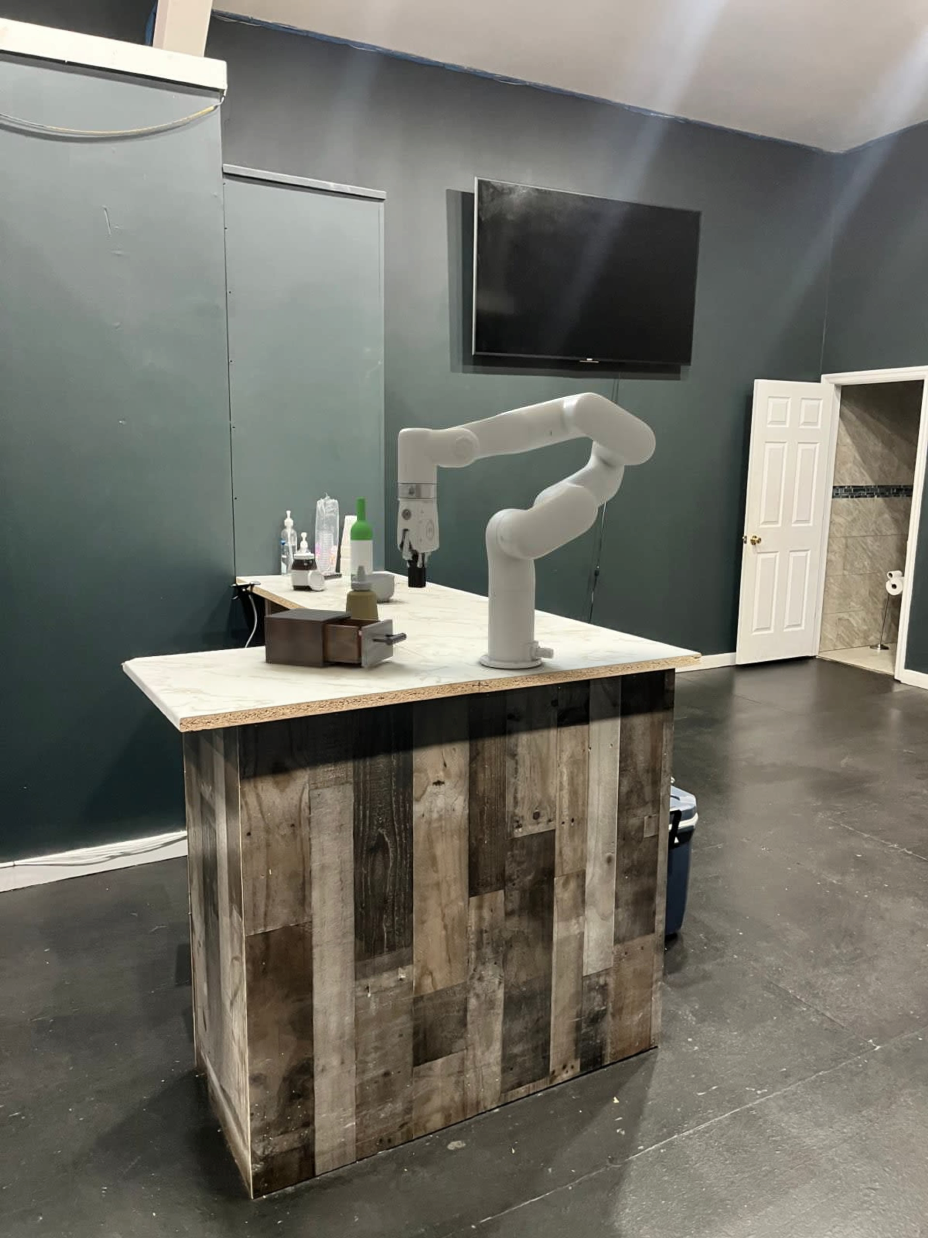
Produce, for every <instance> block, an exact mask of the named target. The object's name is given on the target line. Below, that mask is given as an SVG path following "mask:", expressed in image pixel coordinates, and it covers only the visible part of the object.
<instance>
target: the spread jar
mask: <svg viewBox="0 0 928 1238" xmlns="http://www.w3.org/2000/svg"><path fill="white" fill-rule="evenodd" d="M290 569H291V571H290V573H291V575H290V576H291V586H292V587H291V588H292V589H293V590H295V591H315V592H319V591H322V590H323V589H324V588H325V586H326V580H325V579H326V578H325V576H324V574H323V573H322V572H321V571H320V570H318V565H317V562H316V560H315V553H294V554H293V561H292V564H291V567H290Z"/></svg>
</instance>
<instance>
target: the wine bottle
mask: <svg viewBox="0 0 928 1238" xmlns="http://www.w3.org/2000/svg"><path fill="white" fill-rule="evenodd" d="M349 535H350V536H349V537H350V539H349V542H350V543H349V547H350V548H349V550H350V551H349V552H350V555H349V556H350V583H351V582H352V578H353V576H355V575H357V571H358V566H364V569H365V574H370V573H374V558H373V557H374V555H373V554H374V553H373V552H374V550H373V547H374V546H373V544H374V543H373V542H374V541H373V529H372V526H371V524H369V522H367V520H366V497H357V498H356V521H355V522H354V523H353V524H352V525H351V527H350V533H349ZM355 581H356V579H355Z"/></svg>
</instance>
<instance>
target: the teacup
mask: <svg viewBox="0 0 928 1238" xmlns="http://www.w3.org/2000/svg"><path fill="white" fill-rule="evenodd" d="M356 576H357V575H355V576H353V578H352V582H353V581H355V579H356ZM366 578H367V581H370V582H372V589H370V590H371V591H374V592H375V593H376V599H377V603H383V602H384V603H385V602H388V601H389V600H390V599H392V597H393V596H394V594H395V586H396V585H395V584H396V583H395V582H396V581H395V578H396V575H394V574H393V573H386V572H373V573H370V574H366Z"/></svg>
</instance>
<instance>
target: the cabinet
mask: <svg viewBox="0 0 928 1238" xmlns="http://www.w3.org/2000/svg"><path fill="white" fill-rule="evenodd" d="M352 615H353V612H346V610H330V609H315V608H301V607H296V608H293V609H289V610H284V611H280V612H276V613H272V614H268V615H264V617H263V619H264V620H263V621H264V622H263V623H264V650H265V651H264V652H265V653H264V654H265V663H270V664H281V665H289V666H290V665H291V666H301V667H302V666H303V667H310V668H311V667H313V668H325V667H328V666H331V665H334V664H337V662H336V661H325V660H324V624H325V623H328V622H332V621H335V620H339V619H342V618H353V616H352Z"/></svg>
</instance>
